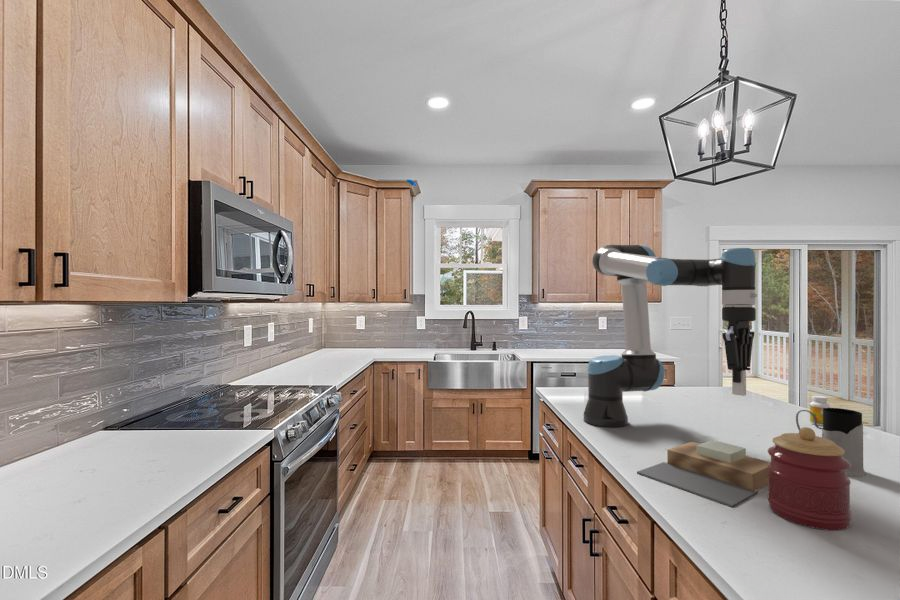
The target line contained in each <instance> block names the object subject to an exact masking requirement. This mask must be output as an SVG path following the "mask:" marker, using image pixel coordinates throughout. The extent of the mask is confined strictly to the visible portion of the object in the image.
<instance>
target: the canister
mask: <svg viewBox="0 0 900 600" xmlns="http://www.w3.org/2000/svg"><path fill="white" fill-rule="evenodd" d="M772 443H773V444H774V445H773V446H770V447H769V448H767V453H768V454H769V456H770V461H769V462H770V463H769V464H768V469H769V484H768V493H767V501H768V504H769V505H768V506H769V508H770V510H771V511H772V512H773V513H775V515H778V517H780V518H784V519H785V520H787V521H789V520H790V522H792V523H795V524H797V525H801V526H804V525H805V526H804V527H808V526H809V527H810V528H812V527H813V529H818V528H819V529H818V530H825V529H827V530H828V531H841V529H842V530H845V529H847V528H849V527H850V524H851V523H850V522H851V520H852V511H851V503H850V502H851V501H850V500H851V499H850V498H851V496H850V495H851V494H850V489H851V488H850V487H851V479H850V478H849V476H847V469H848V468H850V466H851V464H850V462H849V461H848V460H846V459H845V458H843V456H842V455H843V454H844V453H845V451H844V449H843V448H841V447H840V446H838V445H836V444H835V443H834V442H833V441H831V440H829V439H826V438H822V436H819V435H816V432H815V431H814V429H812V428H810V427H807V426H804V427H800V430H798V433H795V432H785V433H782V434H781V435H779V436H776V437H774V438H773V437H772ZM809 527H808V528H809ZM827 530H826V531H827Z"/></svg>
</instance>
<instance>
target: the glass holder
mask: <svg viewBox="0 0 900 600" xmlns="http://www.w3.org/2000/svg"><path fill="white" fill-rule="evenodd" d="M801 412H807V413H808V414H809V415H810V414H811V415H812V416H813V418H814V424H815V425H814V424H813V425H814V426H815V427H816V429H818V430H821V437H822V438H826V439H829V440H831V441H833V442H834V443H835V444H836V445H838V446H840V447H841V448H843V449H844V451H845V453H844V454H843V455H842V456H843V458H845V459H846V460H848V461H849V462H850V464H851V466H850V468H848V469H847V476H848V477H857V478H858V477H865V476H866V475H867V474H866V471H865V469H864V423H863V413H862V412H860V411H857V410H854V409H853V410H852V409H849V408H847V409H846V408H838V407H830V408H824V409H823V426H819V425H817V420H816V417H815V415H814V414H813V413H812V412H811V411H810V410H808V409H801V410H799V411H797V413H796V415H795V423H796V427H797V429H798V431H799V430H800V429H801V427H800V423H799V414H800V413H801Z"/></svg>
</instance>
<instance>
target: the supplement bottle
mask: <svg viewBox="0 0 900 600" xmlns="http://www.w3.org/2000/svg"><path fill="white" fill-rule="evenodd" d="M811 398H812V401H811V402H810V403H809V411H811V412H812V413H813V414H814V415H815V417H816V420H817V426H818V427H823V409H824V408H831V406H830V404H829V403H827V402H828V397H827V396H823V395H812V397H811ZM809 423H810V424H811V425H814V426H815V424H814V418H813V416H812V415H811V414H810V413H809Z"/></svg>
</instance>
